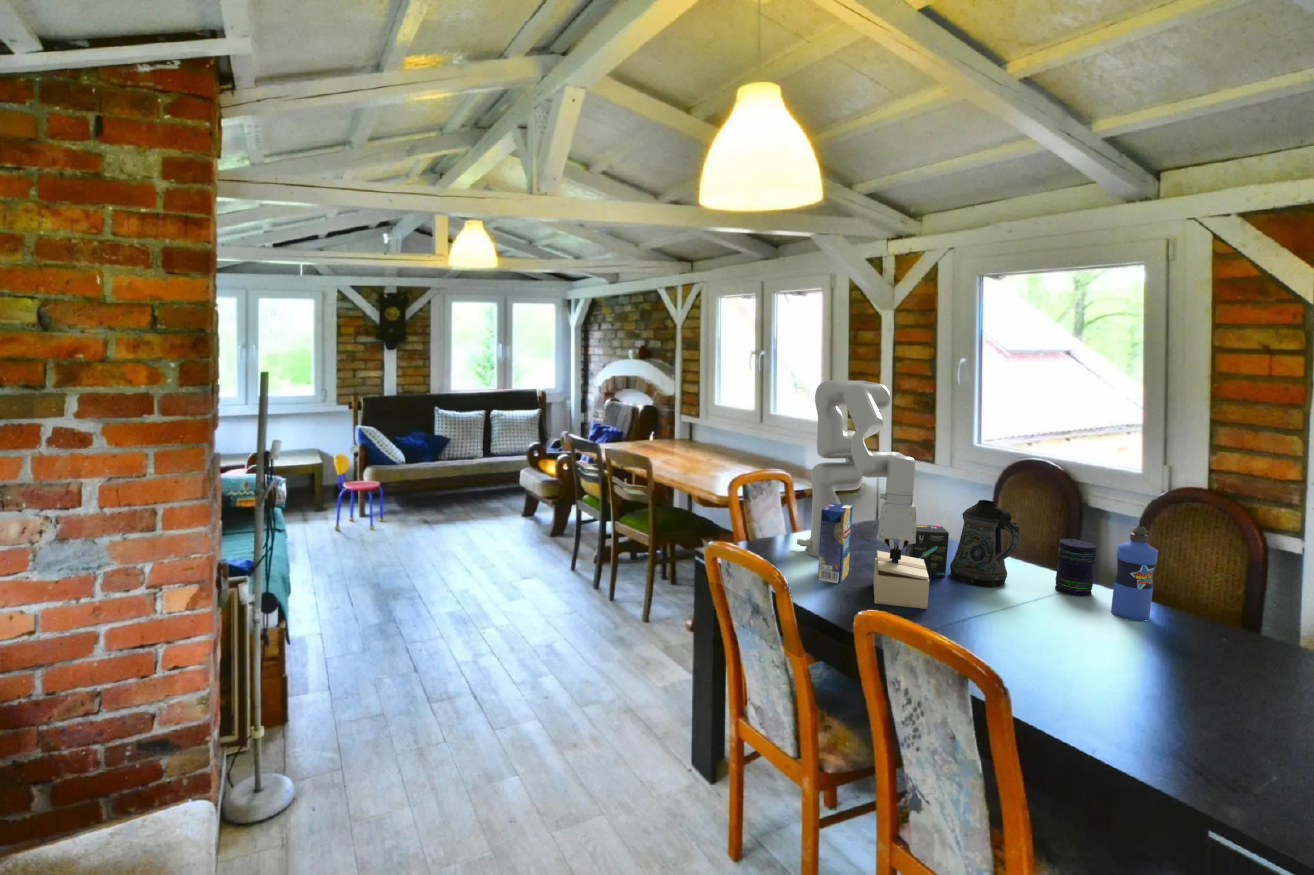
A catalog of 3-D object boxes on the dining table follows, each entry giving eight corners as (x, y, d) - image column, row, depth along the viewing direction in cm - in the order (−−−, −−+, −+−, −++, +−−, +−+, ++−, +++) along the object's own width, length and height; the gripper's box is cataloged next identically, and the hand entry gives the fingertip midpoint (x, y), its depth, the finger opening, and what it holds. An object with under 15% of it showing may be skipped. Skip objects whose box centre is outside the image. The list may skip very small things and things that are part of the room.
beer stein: (953, 567, 246) (960, 493, 242) (1019, 578, 236) (1026, 501, 233) (945, 581, 231) (951, 502, 228) (1014, 593, 222) (1022, 511, 218)
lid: (878, 570, 209) (878, 567, 209) (876, 552, 226) (877, 550, 226) (928, 580, 206) (928, 577, 206) (923, 561, 223) (923, 559, 223)
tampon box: (938, 568, 244) (941, 525, 242) (946, 577, 235) (950, 532, 233) (903, 566, 245) (906, 523, 243) (910, 575, 236) (913, 530, 234)
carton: (874, 603, 210) (876, 575, 209) (873, 583, 228) (875, 557, 227) (927, 609, 207) (929, 581, 206) (922, 588, 224) (924, 562, 223)
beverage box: (848, 574, 236) (852, 505, 233) (839, 583, 226) (844, 512, 223) (826, 570, 239) (831, 502, 236) (817, 579, 229) (821, 509, 226)
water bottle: (1158, 621, 202) (1169, 531, 199) (1125, 621, 202) (1136, 531, 198) (1133, 608, 212) (1144, 522, 208) (1102, 608, 211) (1112, 522, 207)
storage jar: (1099, 596, 221) (1105, 547, 219) (1070, 597, 220) (1075, 548, 218) (1075, 585, 231) (1080, 538, 229) (1047, 586, 229) (1052, 538, 227)
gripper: (872, 499, 212) (868, 562, 214) (927, 503, 208) (923, 568, 210) (871, 494, 219) (867, 555, 221) (925, 498, 215) (921, 560, 218)
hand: (895, 561), depth 216 cm, fingers closed
